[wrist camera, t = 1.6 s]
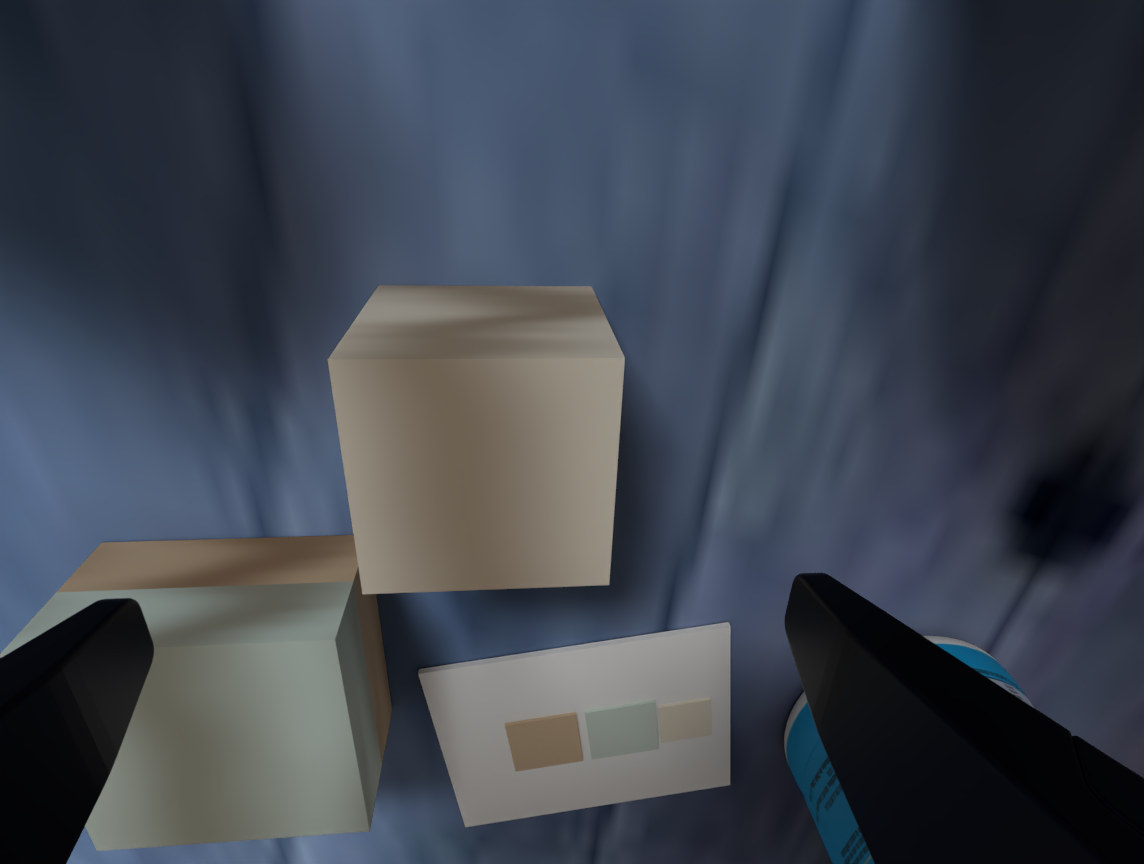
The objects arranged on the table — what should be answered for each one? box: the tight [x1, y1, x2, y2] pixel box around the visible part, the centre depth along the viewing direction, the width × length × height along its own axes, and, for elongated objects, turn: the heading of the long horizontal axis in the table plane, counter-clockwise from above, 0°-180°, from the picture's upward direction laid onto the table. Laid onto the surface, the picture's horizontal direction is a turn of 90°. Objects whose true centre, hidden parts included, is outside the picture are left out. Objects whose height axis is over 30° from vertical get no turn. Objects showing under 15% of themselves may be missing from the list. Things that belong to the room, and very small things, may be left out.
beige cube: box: [328, 285, 625, 594], centre depth 14 cm, size 5×5×5 cm
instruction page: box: [418, 622, 731, 827], centre depth 23 cm, size 10×8×1 cm
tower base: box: [0, 535, 392, 851], centre depth 18 cm, size 7×7×4 cm
